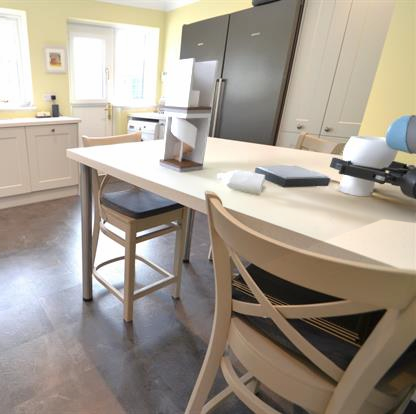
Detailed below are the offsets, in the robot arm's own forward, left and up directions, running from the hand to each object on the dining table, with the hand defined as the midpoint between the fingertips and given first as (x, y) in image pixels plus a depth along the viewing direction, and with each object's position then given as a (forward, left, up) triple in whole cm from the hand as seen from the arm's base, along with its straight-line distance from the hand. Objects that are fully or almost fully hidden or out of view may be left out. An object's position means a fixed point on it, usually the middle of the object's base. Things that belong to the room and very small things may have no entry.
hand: (357, 162), depth 80 cm
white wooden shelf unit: (+39, -30, -8) cm, 50 cm away
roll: (+33, -3, -8) cm, 34 cm away
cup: (0, +2, -8) cm, 8 cm away
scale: (+10, -11, -8) cm, 17 cm away
